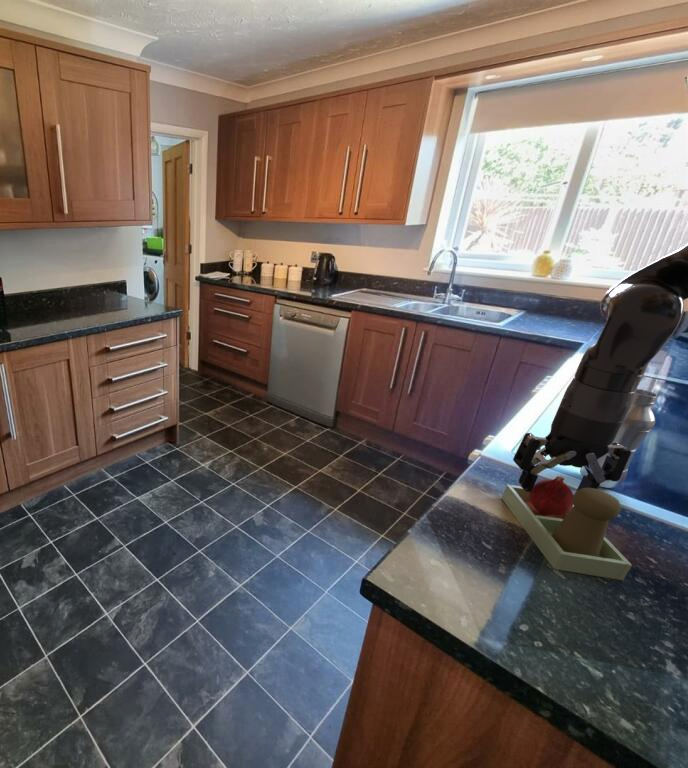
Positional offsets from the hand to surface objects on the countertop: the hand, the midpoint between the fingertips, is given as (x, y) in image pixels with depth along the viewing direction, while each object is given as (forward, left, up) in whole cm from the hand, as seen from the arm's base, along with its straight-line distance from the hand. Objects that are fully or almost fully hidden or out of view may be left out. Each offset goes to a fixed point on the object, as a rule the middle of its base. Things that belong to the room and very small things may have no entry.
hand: (553, 492), depth 73 cm
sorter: (0, +4, -5) cm, 7 cm away
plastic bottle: (-17, -15, -6) cm, 23 cm away
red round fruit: (0, 0, -5) cm, 5 cm away
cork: (0, +8, -5) cm, 10 cm away
